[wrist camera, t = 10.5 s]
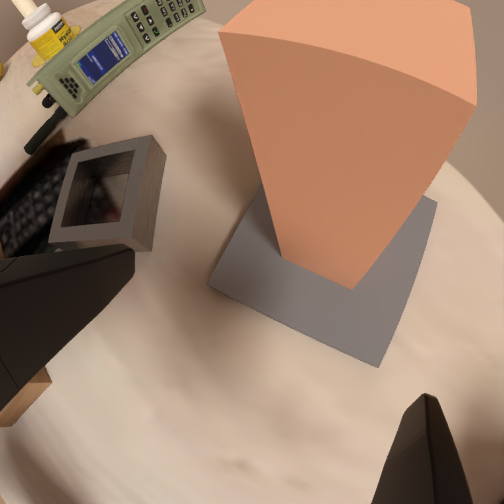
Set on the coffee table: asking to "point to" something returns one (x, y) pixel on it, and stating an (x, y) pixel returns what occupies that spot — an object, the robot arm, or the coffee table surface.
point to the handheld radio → (105, 54)
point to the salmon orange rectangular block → (349, 116)
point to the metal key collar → (135, 201)
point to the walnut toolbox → (23, 393)
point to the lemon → (1, 70)
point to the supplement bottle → (47, 32)
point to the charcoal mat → (324, 284)
